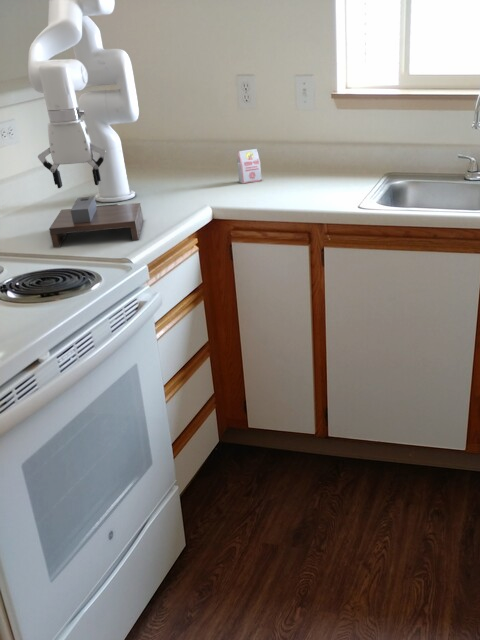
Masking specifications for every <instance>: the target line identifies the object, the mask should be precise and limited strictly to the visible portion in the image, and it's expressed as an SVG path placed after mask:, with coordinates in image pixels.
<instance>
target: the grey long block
mask: <svg viewBox="0 0 480 640" xmlns="http://www.w3.org/2000/svg"><path fill="white" fill-rule="evenodd" d="M96 202H97V201H96V199H95V195H94V196H82V197H81V196H80V197H77V198H76V200H75V202H74V204H73V205H72V207H71V208H70V209H71V210H70V211H71V215H72V220H73V223H85V222H91V220H92V218H93V216H94V214H95V212H96V210H97V207H96V206H97V203H96Z"/></svg>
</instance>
